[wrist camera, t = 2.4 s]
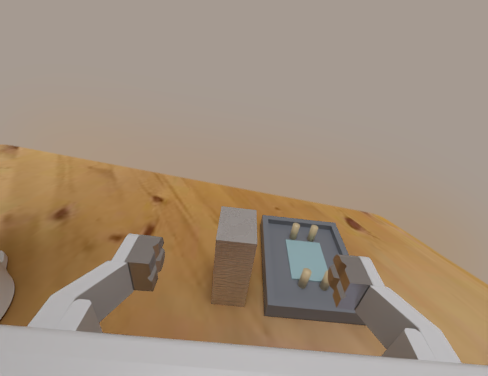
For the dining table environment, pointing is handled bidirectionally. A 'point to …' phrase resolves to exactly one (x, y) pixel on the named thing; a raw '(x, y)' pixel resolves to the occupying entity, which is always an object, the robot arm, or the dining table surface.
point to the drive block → (234, 256)
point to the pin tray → (301, 269)
